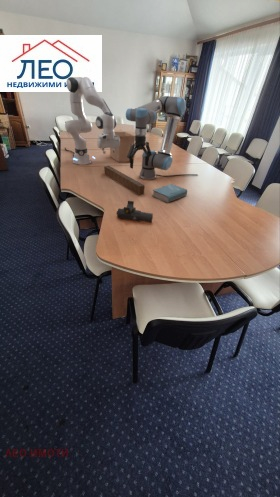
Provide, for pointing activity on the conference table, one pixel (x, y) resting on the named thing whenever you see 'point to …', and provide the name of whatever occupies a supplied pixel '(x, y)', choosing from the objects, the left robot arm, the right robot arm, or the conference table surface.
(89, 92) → the left robot arm
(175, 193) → the book
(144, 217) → the laser sight
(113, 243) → the conference table surface
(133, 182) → the bar
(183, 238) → the conference table surface
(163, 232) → the conference table surface
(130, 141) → the box
